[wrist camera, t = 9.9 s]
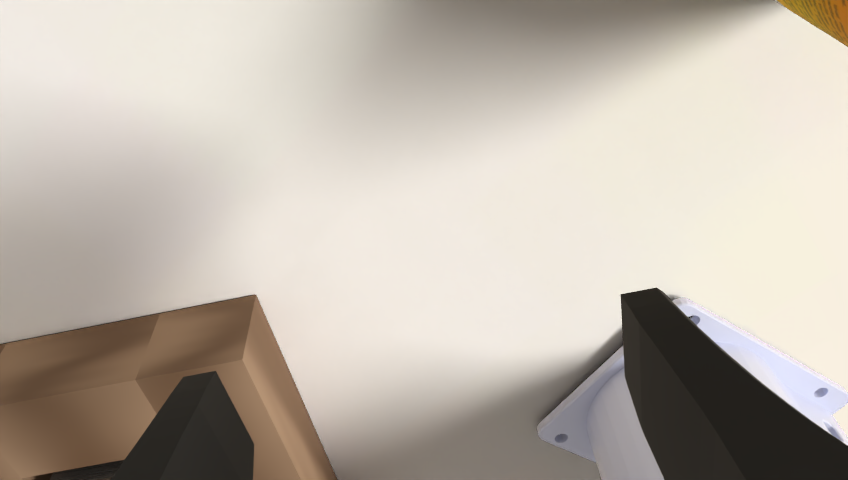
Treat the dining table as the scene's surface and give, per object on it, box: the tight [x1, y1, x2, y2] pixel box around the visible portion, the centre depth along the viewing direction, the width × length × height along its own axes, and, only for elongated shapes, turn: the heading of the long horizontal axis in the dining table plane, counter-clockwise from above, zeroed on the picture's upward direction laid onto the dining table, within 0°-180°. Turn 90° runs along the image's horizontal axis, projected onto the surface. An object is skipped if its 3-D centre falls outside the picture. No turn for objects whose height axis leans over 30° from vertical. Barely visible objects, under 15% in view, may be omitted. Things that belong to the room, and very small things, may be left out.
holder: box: [0, 295, 337, 480], centre depth 26 cm, size 12×12×3 cm
